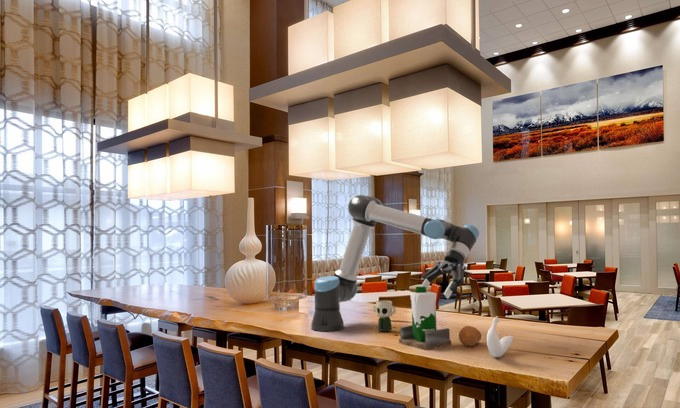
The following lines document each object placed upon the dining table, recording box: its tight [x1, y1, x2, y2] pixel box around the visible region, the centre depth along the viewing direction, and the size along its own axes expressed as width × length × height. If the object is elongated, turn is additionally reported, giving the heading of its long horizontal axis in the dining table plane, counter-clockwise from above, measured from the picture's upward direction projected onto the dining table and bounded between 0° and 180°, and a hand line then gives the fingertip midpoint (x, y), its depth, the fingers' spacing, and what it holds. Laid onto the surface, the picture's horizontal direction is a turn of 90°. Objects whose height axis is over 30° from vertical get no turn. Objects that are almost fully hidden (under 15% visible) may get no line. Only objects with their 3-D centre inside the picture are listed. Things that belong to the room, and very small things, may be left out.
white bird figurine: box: [486, 315, 514, 358], centre depth 148 cm, size 5×19×15 cm, turn 146°
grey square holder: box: [398, 325, 452, 351], centre depth 168 cm, size 14×14×6 cm
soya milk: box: [410, 286, 438, 342], centre depth 169 cm, size 9×9×20 cm
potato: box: [458, 325, 483, 347], centre depth 165 cm, size 7×13×7 cm, turn 142°
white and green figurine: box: [372, 300, 397, 332], centre depth 193 cm, size 11×7×13 cm, turn 58°
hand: (432, 294), depth 171 cm, fingers open, 13 cm apart
